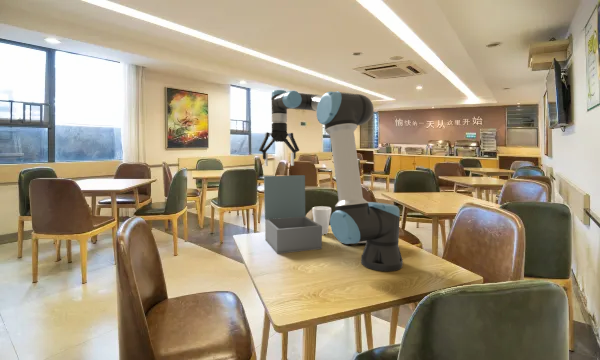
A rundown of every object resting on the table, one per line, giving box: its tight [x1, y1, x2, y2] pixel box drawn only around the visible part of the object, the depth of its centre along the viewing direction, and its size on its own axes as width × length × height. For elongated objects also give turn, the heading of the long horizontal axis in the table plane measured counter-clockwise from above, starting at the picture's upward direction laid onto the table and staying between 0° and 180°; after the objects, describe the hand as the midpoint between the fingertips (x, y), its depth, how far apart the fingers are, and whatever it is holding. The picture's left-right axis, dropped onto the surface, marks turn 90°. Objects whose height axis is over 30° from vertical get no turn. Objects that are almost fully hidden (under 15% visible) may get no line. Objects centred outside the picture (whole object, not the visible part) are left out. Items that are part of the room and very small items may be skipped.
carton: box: [264, 215, 323, 254], centre depth 145 cm, size 20×20×10 cm
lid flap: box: [263, 174, 306, 219], centre depth 159 cm, size 20×20×12 cm
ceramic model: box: [305, 208, 314, 221], centre depth 177 cm, size 14×11×10 cm
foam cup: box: [311, 205, 332, 236], centre depth 163 cm, size 10×9×13 cm
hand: (279, 165), depth 161 cm, fingers open, 13 cm apart
